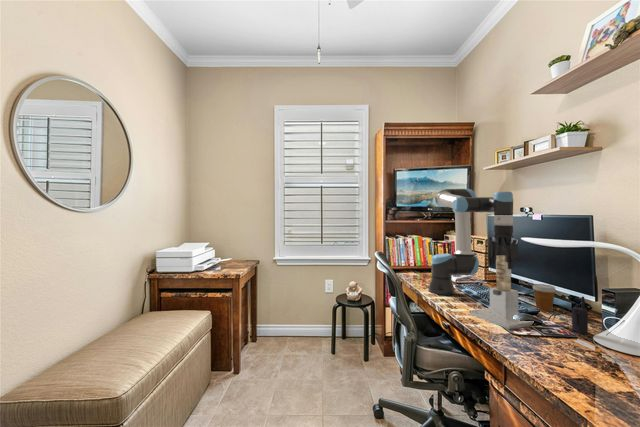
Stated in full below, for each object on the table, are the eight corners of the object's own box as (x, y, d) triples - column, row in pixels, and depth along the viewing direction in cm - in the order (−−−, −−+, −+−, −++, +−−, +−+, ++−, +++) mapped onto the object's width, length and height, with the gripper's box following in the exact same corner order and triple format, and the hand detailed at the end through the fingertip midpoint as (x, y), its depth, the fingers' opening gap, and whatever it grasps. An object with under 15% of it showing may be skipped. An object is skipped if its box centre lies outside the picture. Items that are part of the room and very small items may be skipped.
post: (495, 306, 136) (495, 255, 136) (502, 305, 137) (502, 255, 137) (504, 309, 132) (504, 256, 132) (511, 308, 133) (511, 256, 133)
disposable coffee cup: (528, 308, 149) (528, 284, 149) (539, 305, 153) (539, 282, 153) (549, 313, 141) (549, 289, 141) (560, 311, 145) (560, 287, 145)
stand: (469, 314, 141) (469, 286, 141) (499, 309, 147) (499, 282, 147) (508, 329, 122) (508, 297, 122) (541, 323, 129) (540, 292, 129)
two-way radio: (590, 334, 116) (590, 297, 116) (580, 335, 116) (580, 297, 116) (576, 329, 122) (576, 293, 122) (567, 329, 121) (567, 294, 121)
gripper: (481, 224, 141) (481, 272, 141) (515, 225, 125) (515, 279, 125) (492, 224, 144) (492, 271, 144) (527, 225, 128) (527, 278, 128)
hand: (503, 274), depth 135 cm, fingers closed on post, 4 cm apart
